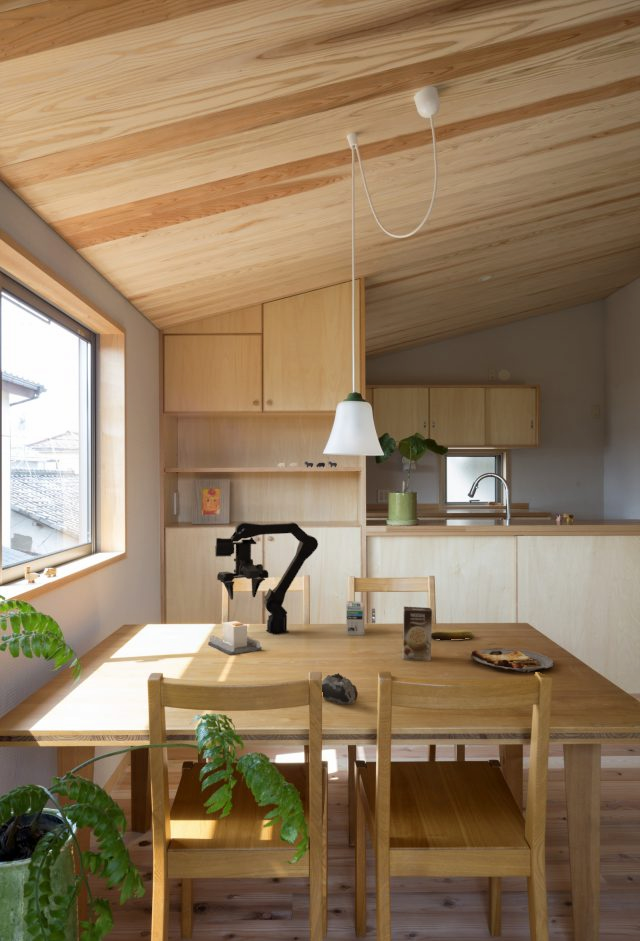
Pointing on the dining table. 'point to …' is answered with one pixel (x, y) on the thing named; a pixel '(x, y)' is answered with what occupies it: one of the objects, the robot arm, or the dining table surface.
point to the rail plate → (229, 648)
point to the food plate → (511, 659)
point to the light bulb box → (355, 618)
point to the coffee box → (417, 633)
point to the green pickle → (451, 635)
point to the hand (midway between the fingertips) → (242, 598)
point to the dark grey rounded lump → (339, 689)
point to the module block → (235, 633)
